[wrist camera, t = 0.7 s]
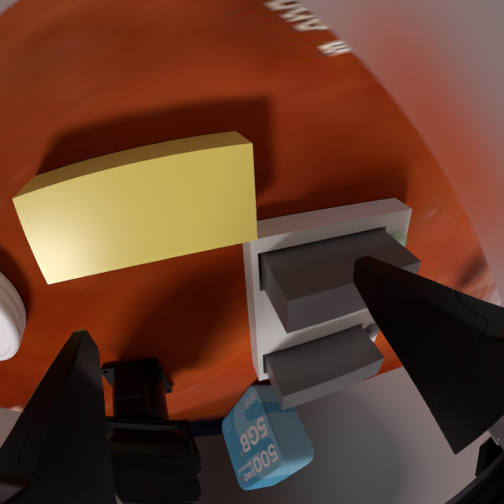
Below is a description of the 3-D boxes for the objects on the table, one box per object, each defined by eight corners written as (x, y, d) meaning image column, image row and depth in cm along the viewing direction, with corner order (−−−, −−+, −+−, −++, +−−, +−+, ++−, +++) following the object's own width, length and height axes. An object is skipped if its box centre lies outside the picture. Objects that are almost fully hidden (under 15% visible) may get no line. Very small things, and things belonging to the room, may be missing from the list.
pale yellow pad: (241, 213, 22) (257, 239, 19) (61, 251, 19) (48, 284, 16) (235, 130, 19) (252, 143, 16) (34, 176, 16) (12, 198, 13)
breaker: (354, 340, 33) (377, 373, 28) (265, 369, 30) (282, 410, 26) (359, 323, 31) (384, 357, 27) (264, 353, 29) (283, 396, 24)
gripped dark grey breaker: (375, 256, 26) (411, 291, 22) (262, 285, 24) (286, 333, 19) (381, 227, 24) (420, 261, 20) (260, 253, 22) (288, 301, 18)
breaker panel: (364, 327, 36) (376, 344, 34) (252, 363, 33) (261, 385, 30) (395, 197, 26) (416, 212, 23) (240, 223, 23) (252, 244, 20)
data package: (253, 379, 35) (286, 463, 25) (283, 379, 37) (318, 456, 27) (219, 423, 40) (241, 492, 30) (245, 422, 42) (269, 487, 32)
